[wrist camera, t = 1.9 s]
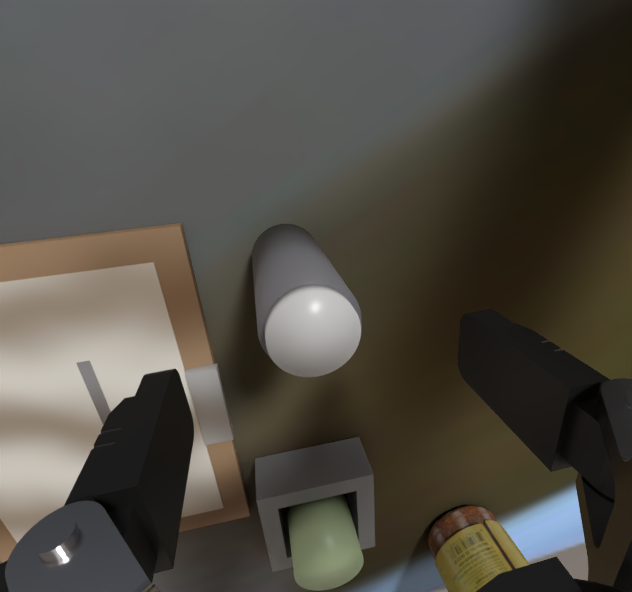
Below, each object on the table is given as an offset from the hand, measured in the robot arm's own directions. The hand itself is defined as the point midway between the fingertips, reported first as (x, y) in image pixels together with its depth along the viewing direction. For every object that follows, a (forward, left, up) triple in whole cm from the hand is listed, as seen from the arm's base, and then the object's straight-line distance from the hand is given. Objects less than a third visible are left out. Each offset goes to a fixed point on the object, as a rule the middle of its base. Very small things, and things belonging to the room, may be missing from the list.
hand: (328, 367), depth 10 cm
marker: (-1, 0, -9) cm, 9 cm away
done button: (+16, 0, -7) cm, 18 cm away
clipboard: (+7, -12, -9) cm, 17 cm away
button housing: (+16, 0, -9) cm, 19 cm away
